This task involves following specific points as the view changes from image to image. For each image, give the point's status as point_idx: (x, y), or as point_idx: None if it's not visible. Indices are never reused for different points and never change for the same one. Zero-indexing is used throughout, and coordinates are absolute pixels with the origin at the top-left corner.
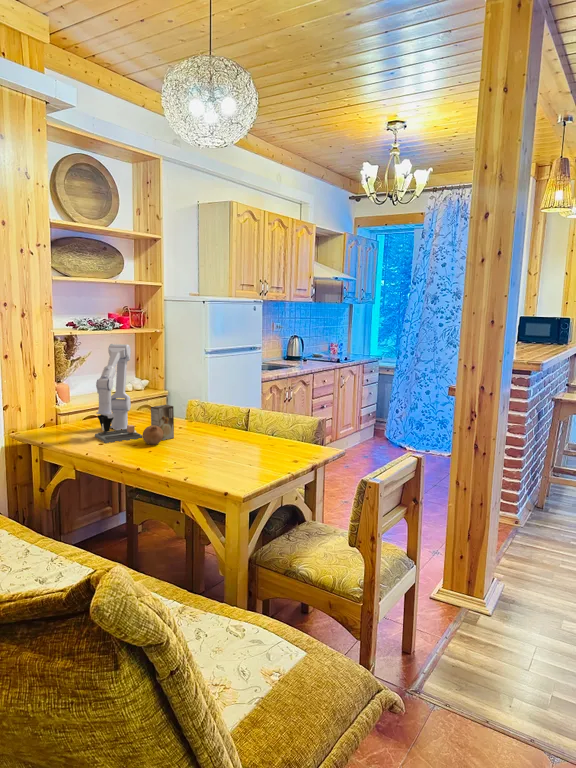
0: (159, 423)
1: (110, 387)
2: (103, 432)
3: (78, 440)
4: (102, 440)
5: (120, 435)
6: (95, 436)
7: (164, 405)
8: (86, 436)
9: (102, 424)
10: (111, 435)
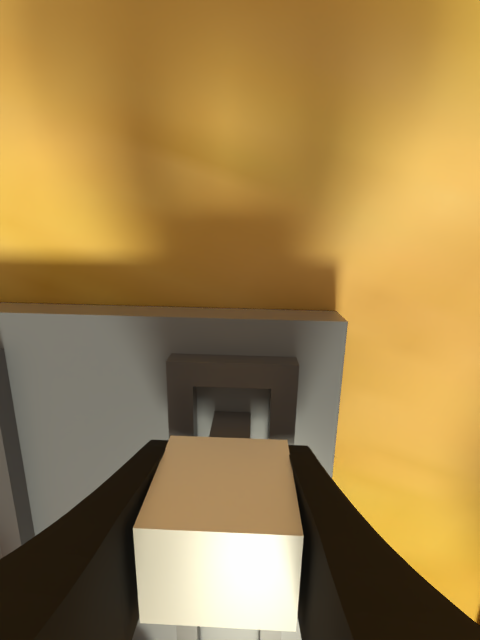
0: None
1: None
2: (243, 424)
3: (250, 14)
4: (24, 305)
5: (2, 537)
6: (314, 312)
7: None
8: (430, 217)
9: (252, 525)
10: (115, 465)
